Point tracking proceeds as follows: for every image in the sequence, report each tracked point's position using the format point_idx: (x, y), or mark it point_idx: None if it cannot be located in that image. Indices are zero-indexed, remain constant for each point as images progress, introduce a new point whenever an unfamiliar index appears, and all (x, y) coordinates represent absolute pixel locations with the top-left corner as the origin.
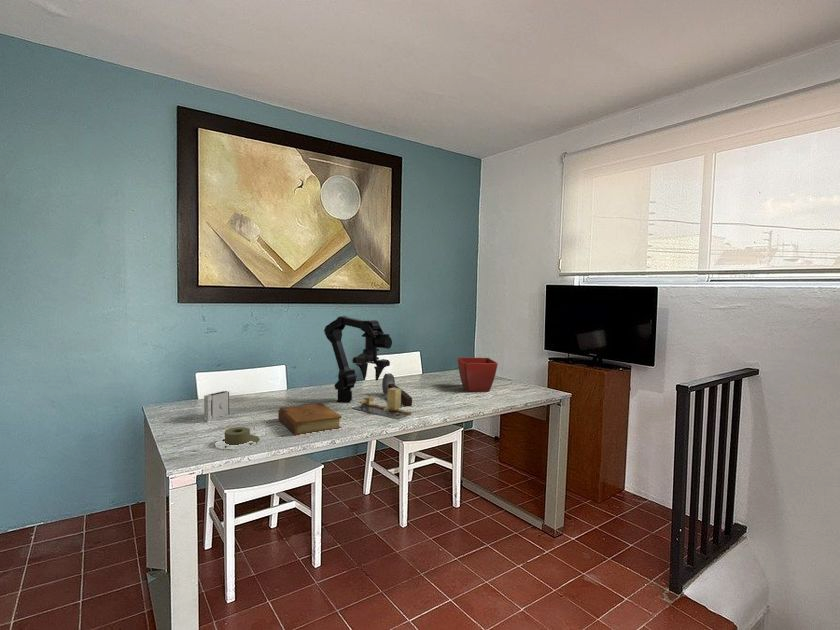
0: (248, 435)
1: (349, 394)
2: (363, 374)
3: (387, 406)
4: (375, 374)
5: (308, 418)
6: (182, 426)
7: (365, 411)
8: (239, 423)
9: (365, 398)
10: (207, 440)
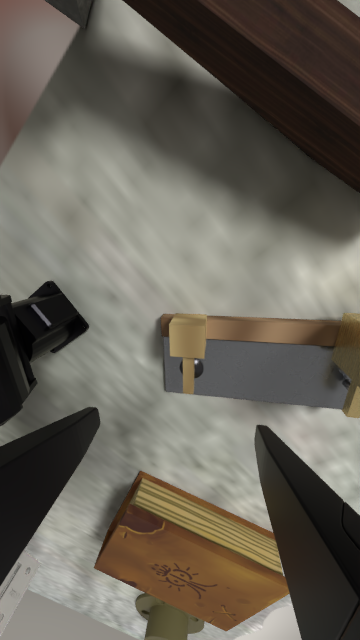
0: (184, 635)
1: (56, 330)
2: (72, 471)
3: (338, 365)
4: (278, 546)
5: (226, 612)
6: (38, 579)
7: (236, 396)
8: (78, 556)
9: (176, 354)
10: (127, 610)
